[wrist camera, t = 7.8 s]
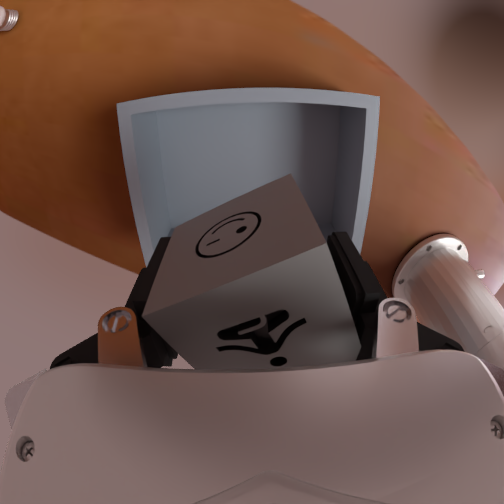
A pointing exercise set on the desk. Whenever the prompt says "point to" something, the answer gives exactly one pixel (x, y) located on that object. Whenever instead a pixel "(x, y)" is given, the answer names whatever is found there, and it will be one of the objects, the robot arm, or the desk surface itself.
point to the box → (248, 154)
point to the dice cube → (253, 287)
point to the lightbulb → (7, 19)
